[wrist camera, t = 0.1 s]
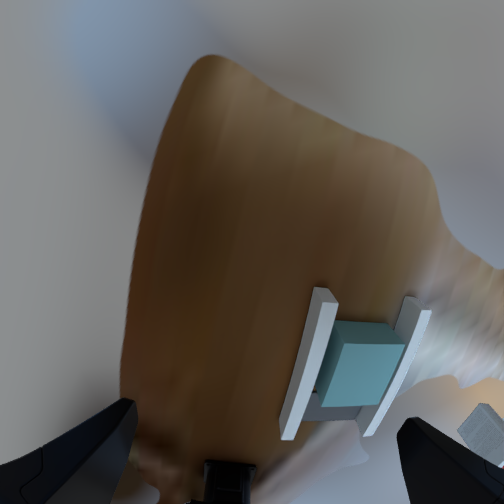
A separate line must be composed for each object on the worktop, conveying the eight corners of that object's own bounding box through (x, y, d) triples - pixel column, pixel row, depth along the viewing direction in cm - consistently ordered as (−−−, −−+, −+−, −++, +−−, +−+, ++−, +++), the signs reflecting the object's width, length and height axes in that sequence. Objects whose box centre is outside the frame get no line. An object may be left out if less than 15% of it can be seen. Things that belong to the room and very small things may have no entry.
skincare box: (467, 429, 28) (496, 472, 16) (456, 429, 27) (486, 477, 16) (489, 402, 27) (523, 444, 15) (480, 401, 26) (516, 447, 14)
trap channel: (364, 417, 25) (372, 435, 22) (278, 418, 25) (281, 439, 22) (415, 297, 22) (432, 310, 19) (314, 286, 21) (322, 302, 18)
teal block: (364, 378, 24) (377, 404, 20) (313, 378, 24) (321, 406, 20) (386, 322, 22) (405, 344, 19) (330, 318, 22) (344, 343, 18)
